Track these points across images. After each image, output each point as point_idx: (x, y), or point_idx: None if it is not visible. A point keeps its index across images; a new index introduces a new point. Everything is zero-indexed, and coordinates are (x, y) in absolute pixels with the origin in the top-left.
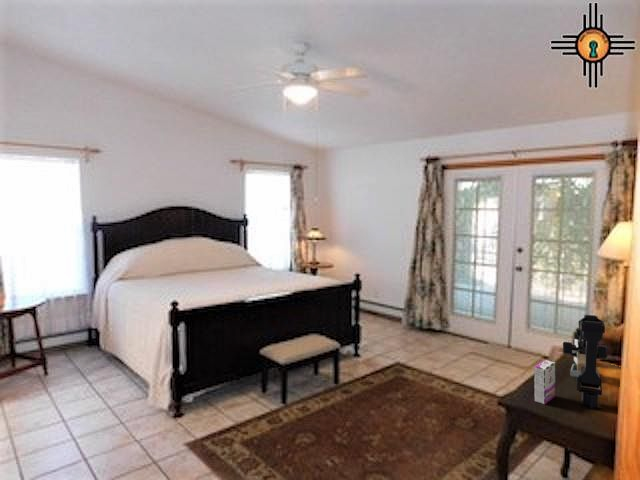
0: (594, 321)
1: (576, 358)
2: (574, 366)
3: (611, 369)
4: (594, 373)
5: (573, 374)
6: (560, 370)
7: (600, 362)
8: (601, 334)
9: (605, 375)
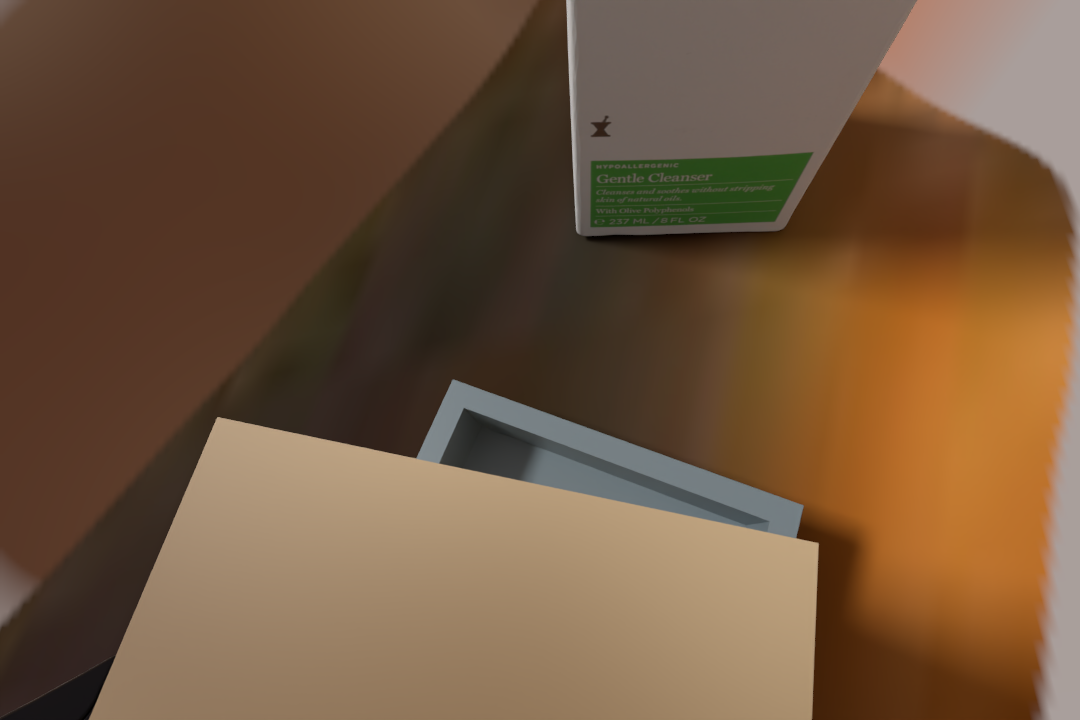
0: None
1: (573, 163)
2: (476, 417)
3: (1016, 301)
4: None
5: None
6: None
7: (891, 100)
8: None
9: (903, 572)
